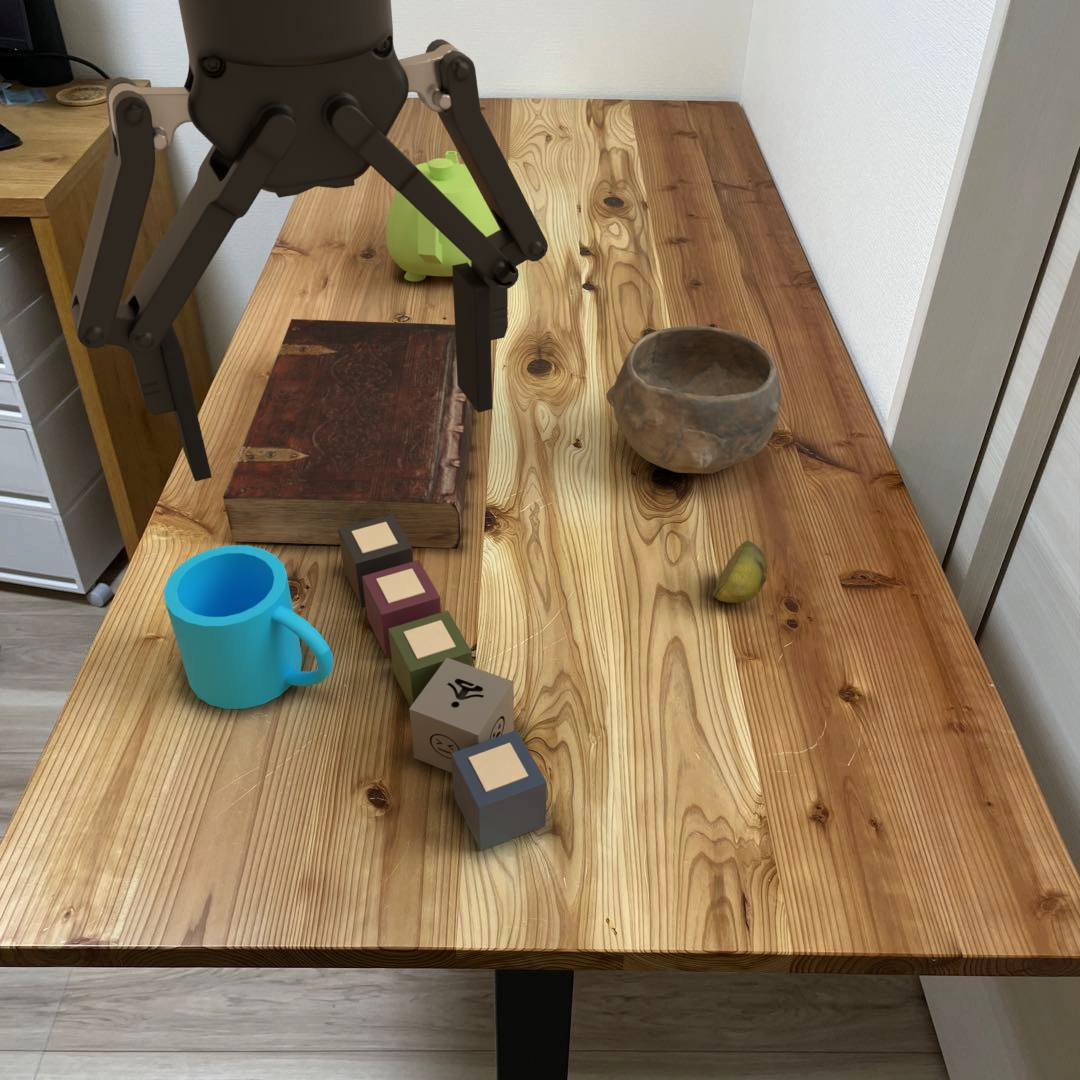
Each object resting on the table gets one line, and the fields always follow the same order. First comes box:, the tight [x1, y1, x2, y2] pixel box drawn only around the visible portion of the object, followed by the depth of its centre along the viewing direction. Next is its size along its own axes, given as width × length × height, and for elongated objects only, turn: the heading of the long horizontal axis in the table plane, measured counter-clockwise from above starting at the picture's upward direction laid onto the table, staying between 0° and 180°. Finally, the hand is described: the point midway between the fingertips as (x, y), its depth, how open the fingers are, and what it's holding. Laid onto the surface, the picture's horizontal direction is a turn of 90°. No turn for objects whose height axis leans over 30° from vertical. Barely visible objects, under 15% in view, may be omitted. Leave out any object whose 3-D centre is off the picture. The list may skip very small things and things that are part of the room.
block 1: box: [338, 514, 414, 607], centre depth 84 cm, size 4×4×5 cm
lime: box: [713, 540, 768, 604], centre depth 83 cm, size 4×5×5 cm
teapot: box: [385, 150, 500, 282], centre depth 124 cm, size 20×13×13 cm
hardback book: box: [222, 318, 475, 549], centre depth 98 cm, size 29×19×5 cm, turn 179°
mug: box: [163, 544, 334, 710], centre depth 75 cm, size 12×8×8 cm
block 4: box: [451, 729, 548, 852], centre depth 67 cm, size 4×4×5 cm
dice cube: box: [408, 658, 515, 774], centre depth 71 cm, size 5×5×5 cm
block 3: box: [388, 610, 473, 708], centre depth 75 cm, size 4×4×5 cm
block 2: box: [362, 559, 442, 659], centre depth 79 cm, size 4×4×5 cm
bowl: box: [605, 325, 782, 474], centre depth 96 cm, size 14×15×10 cm
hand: (342, 429), depth 51 cm, fingers open, 13 cm apart
